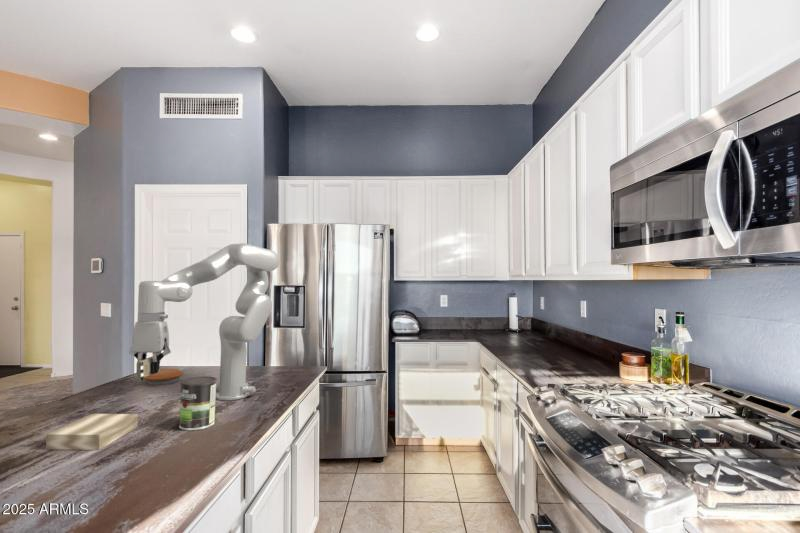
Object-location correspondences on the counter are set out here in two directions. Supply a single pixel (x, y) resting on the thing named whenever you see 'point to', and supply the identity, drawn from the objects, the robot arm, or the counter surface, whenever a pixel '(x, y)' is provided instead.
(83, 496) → the counter surface
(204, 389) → the coffee can
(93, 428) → the birch block
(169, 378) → the pie
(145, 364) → the stone tablet
